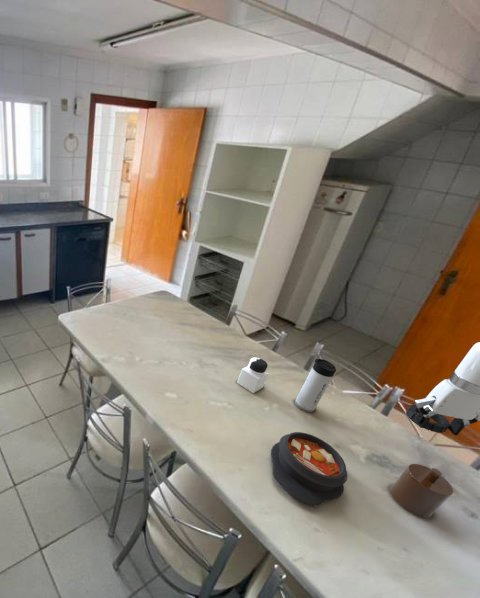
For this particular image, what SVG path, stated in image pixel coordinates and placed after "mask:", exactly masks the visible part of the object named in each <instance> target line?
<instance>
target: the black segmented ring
mask: <svg viewBox="0 0 480 598" xmlns="http://www.w3.org/2000/svg"><path fill="white" fill-rule="evenodd" d="M430 411H432V410H431V409H430V410H427V411H426V412H430ZM419 413H420V411H419V410H418V408H417V406H416V403H414V404H410V405H409V406H408V408H407V409H406V411H405V414H406V417H408V419H409V420H410V421H411V422H412V423H414V425H416V426H418V427H419V425H418V424H417V423H416V422H415V419H416V417H417V416H418V415H419ZM429 418H430V420H429V422H428V423H427V424H426V426H425V427H424V428H423V429H425V430H426V431H430V432H433V433H437V434H442V433H446V431H447V430H449V429H448V428H449V426H450V423H451V421H449V420H448V419H447V417H446V416H444V415H441V414H435V415H433V416H431V417H429ZM431 420H433V421H434V422H433V421H431Z"/></svg>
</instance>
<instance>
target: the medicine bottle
mask: <svg viewBox="0 0 480 598" xmlns="http://www.w3.org/2000/svg"><path fill="white" fill-rule="evenodd" d="M268 367H269V365H268V363H267V361H266V360H264V359H262V358H260V357H251V358H250V359H249V363H248V365H247V366H245V367H243V368H242V369H241V371H240V374H239V376H238V379H237V381H236V383H237V384H238V385H240V386H241V387H242V388H244V389H246V390H247V391H249V392H250V393H252V394H255V393H257V392H258V391H259V390H261V389H263V388H264V386H265V383H266V381H267V379H268V377H269V375H270V373H269V372H267V368H268Z"/></svg>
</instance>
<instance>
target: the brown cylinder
mask: <svg viewBox="0 0 480 598" xmlns="http://www.w3.org/2000/svg"><path fill="white" fill-rule="evenodd" d="M442 473H443V472H441V471H440V470H439V469H437V468H434V467H432V468H430V467H428V466H425V465H424V464H418V463H411V464H409V465H408V466H407V468H405V469H404V471H403V472H402V473H401V475H400V476H399V477H398V478H397V480H396V481H395V482H394V483H393V484H392V485H391V487H390V488H389V493H390V495H391V497H392V498H393V499H394V501H395V502H396V503H397V504H398V505H399V506H400V507H401V508H402V509H403V510H405V511H407V512H409V513H411V514H412V515H415V516H417V517H420V518H425V519H427V518H431V516H432V515H433V514H435V512H437V510H438V509H439V508H440V507H441V506H442V505H443V504H444V503H445V502H446V501H447V500H448V499H449V498H450V497H451V496H453V494H454V488H453V487H452V485H451V484H450V482H449V481H448V480H447V479H446V478H445V477H443V476H442V475H443V474H442Z"/></svg>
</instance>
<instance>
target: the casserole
mask: <svg viewBox="0 0 480 598" xmlns="http://www.w3.org/2000/svg"><path fill="white" fill-rule="evenodd" d="M270 458H271V463H272V476H273V478H274V480H275V481H276V483H278V485H279V486H280V487H281V488H283V490H284V491H286V492H287V493H288V494H290V495H291V496H292V497H293V498H295V499H297V500H298V501H300V502H303V503H304V504H307V505H310V506H312V507H313V506H314V507H319V506H320V505H322V504H324V503H326V502H329V501H333V500H336V499H338V498H340V497H341V496H342V495H343V494H344V490H345V486H344V485H345V484H346V482H347V481H348V471H347V465H346V463H345V460H344V459H343V457H342V456H341V455H340V453H339V452H338V451H337V450H336V449H335V448H334V447H333V446H331V445H330V444H329V443H328V442H327V441H324V440H323V439H321V438H319V437H317V436H315V435H314V434H311V433H308V432H307V433H306V432H301V431H294V432H290V433H288V434H285V435H283V436H282V437H281V438H280V439H279V441H278V442H276V443H275V444H274V445H272V447H271V450H270Z"/></svg>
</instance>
